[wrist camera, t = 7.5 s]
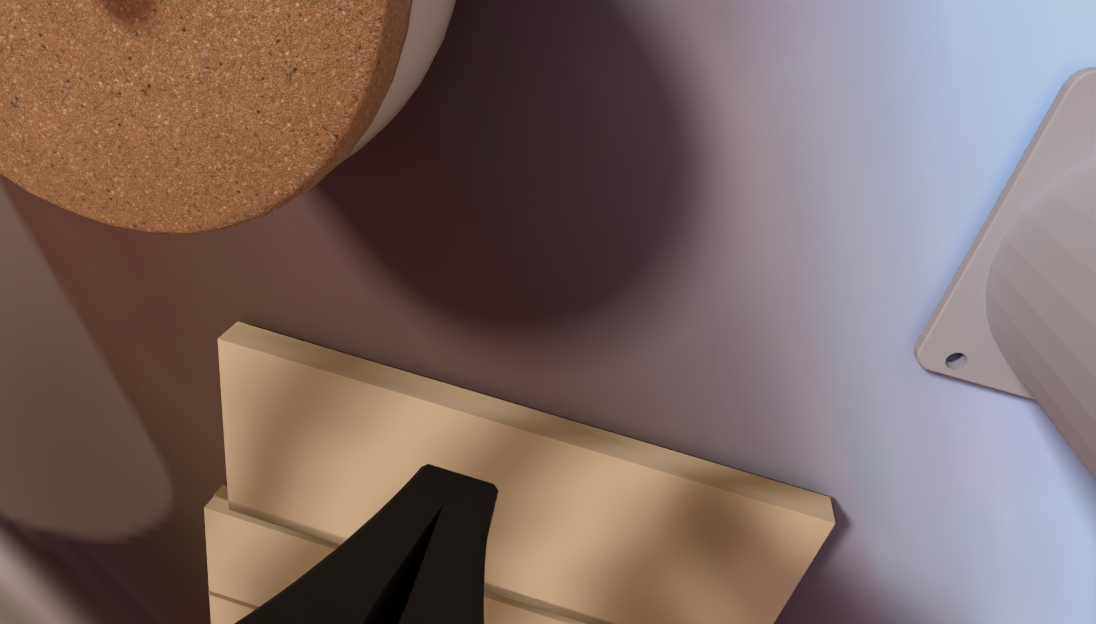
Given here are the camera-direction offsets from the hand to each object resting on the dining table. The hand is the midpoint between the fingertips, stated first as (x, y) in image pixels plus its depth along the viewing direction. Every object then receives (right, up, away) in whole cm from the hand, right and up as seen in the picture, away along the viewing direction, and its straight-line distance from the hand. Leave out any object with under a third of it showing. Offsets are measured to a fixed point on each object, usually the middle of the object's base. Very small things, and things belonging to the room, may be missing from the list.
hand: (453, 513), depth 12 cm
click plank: (0, -3, +12) cm, 12 cm away
